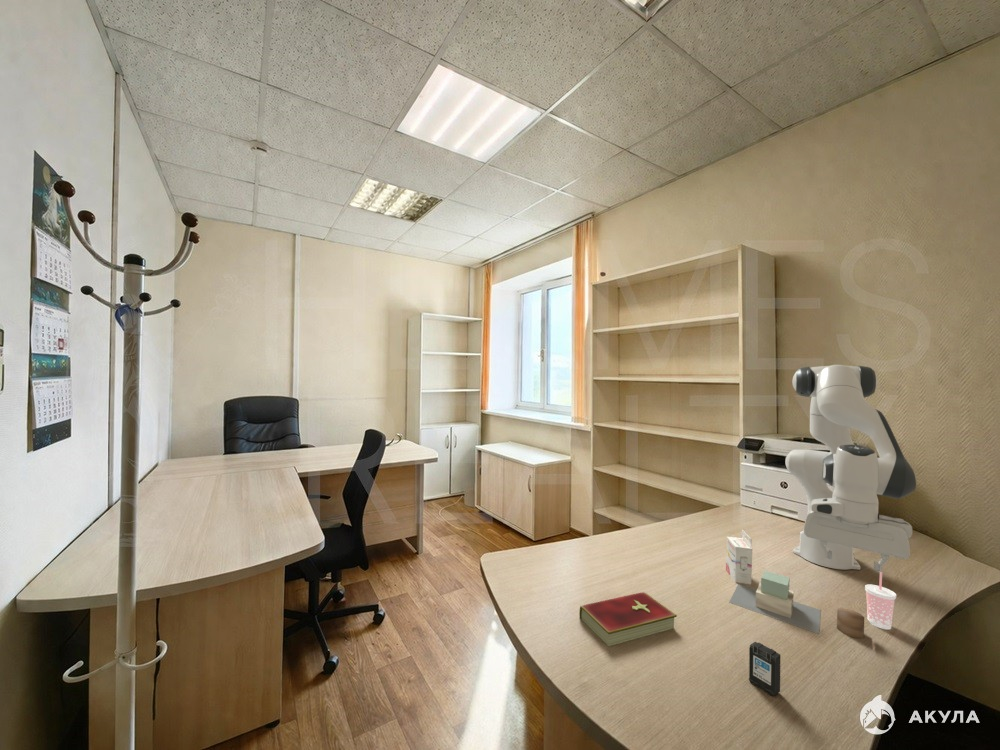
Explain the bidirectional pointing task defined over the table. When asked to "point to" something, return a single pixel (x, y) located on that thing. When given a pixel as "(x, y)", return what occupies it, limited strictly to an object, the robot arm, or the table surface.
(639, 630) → the hardcover book
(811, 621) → the mat
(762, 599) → the base slab
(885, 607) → the beverage cup
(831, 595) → the table surface
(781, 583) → the mint green block
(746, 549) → the ink cartridge box
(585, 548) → the table surface
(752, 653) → the ink cartridge
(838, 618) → the brown rounded piece
